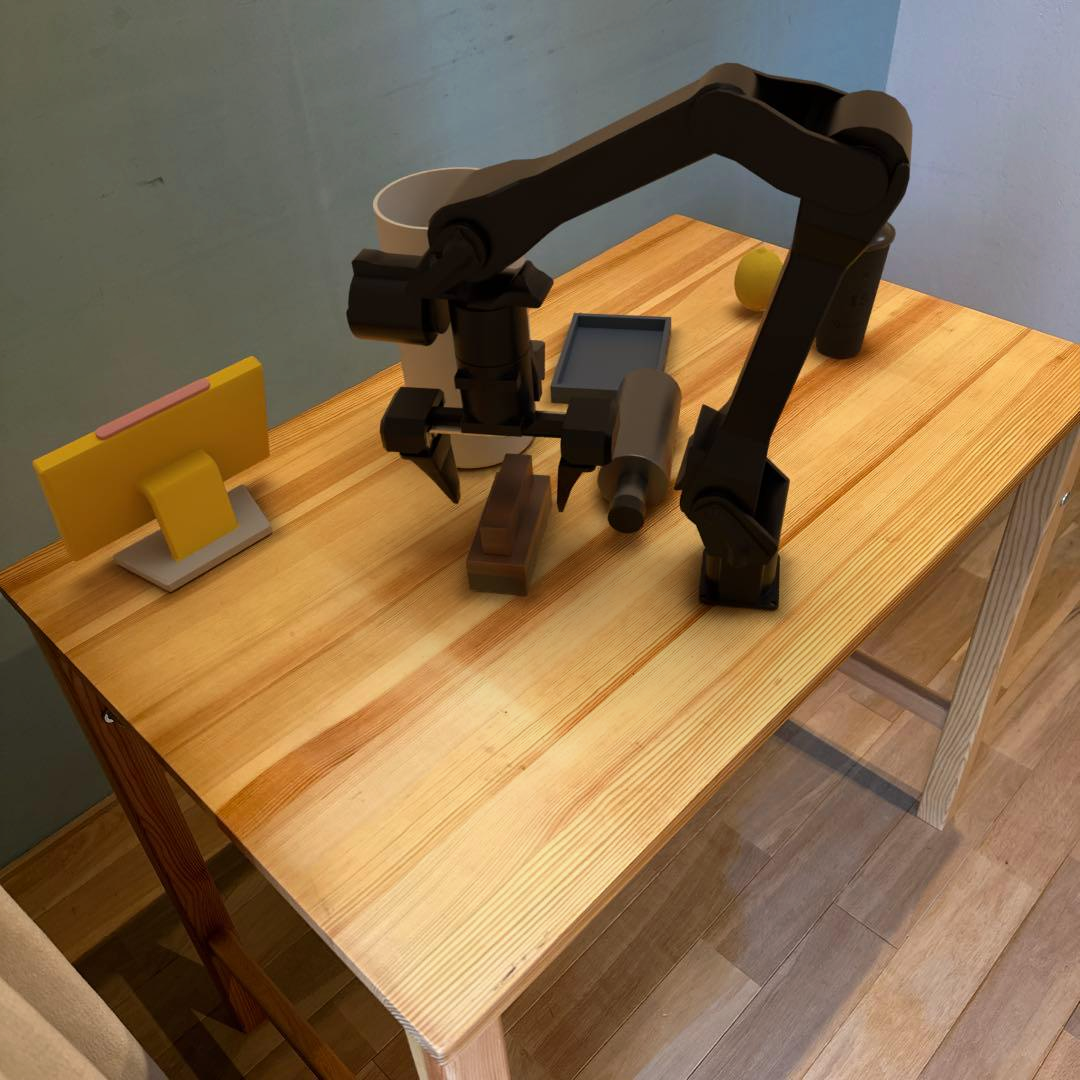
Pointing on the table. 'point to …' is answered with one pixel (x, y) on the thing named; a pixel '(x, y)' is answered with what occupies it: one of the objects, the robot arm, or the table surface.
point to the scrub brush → (510, 529)
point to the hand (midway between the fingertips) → (509, 504)
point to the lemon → (757, 278)
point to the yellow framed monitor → (166, 478)
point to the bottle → (641, 448)
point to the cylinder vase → (435, 366)
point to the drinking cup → (854, 301)
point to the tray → (608, 353)
